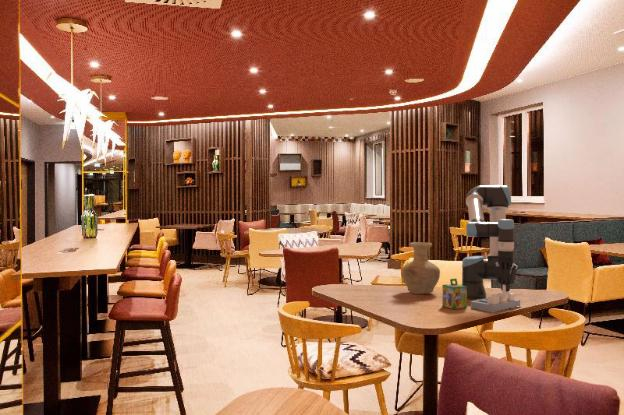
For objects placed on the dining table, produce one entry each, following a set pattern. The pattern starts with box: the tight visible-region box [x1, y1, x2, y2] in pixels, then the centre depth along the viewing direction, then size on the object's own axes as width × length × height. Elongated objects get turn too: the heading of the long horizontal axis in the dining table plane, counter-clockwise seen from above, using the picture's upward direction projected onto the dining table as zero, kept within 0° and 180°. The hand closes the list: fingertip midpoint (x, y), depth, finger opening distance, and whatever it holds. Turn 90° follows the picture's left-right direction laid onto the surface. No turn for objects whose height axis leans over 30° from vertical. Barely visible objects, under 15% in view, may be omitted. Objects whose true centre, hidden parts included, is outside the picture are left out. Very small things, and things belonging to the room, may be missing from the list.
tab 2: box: [495, 292, 507, 303], centre depth 273 cm, size 4×4×6 cm
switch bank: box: [470, 297, 521, 313], centre depth 276 cm, size 24×13×4 cm, turn 126°
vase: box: [401, 241, 441, 295], centre depth 315 cm, size 22×22×30 cm
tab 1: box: [487, 294, 499, 305], centre depth 269 cm, size 4×4×6 cm
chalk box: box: [441, 278, 468, 310], centre depth 276 cm, size 9×9×15 cm
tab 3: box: [507, 290, 516, 301], centre depth 277 cm, size 4×4×6 cm
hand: (505, 297), depth 263 cm, fingers closed
